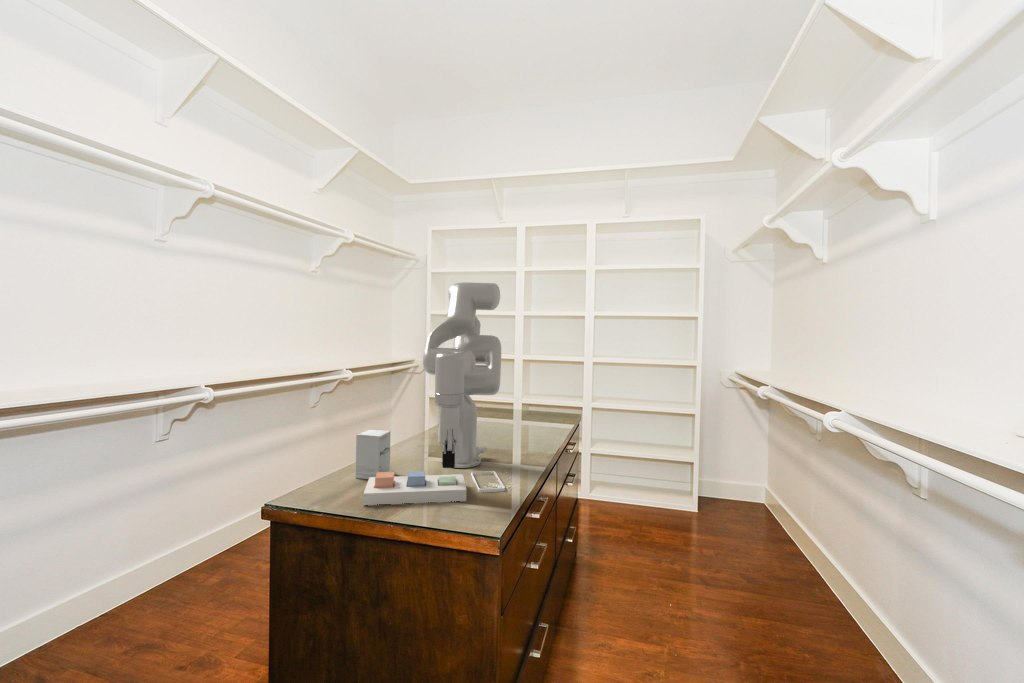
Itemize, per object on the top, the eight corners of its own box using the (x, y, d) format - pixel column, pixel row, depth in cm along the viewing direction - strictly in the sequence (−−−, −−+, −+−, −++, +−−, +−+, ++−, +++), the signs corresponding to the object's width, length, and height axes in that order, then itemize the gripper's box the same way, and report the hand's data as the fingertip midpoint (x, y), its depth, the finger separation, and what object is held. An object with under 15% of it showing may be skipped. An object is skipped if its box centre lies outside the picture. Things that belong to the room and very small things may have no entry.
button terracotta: (394, 483, 123) (394, 471, 122) (392, 489, 118) (393, 477, 118) (376, 484, 122) (376, 472, 122) (375, 490, 117) (375, 477, 117)
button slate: (425, 482, 124) (425, 470, 124) (425, 488, 120) (425, 476, 120) (408, 483, 123) (408, 471, 123) (407, 489, 119) (407, 476, 119)
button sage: (455, 487, 126) (455, 476, 125) (456, 493, 121) (456, 481, 121) (438, 488, 125) (438, 476, 125) (439, 494, 120) (439, 482, 120)
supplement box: (378, 480, 131) (379, 436, 131) (354, 478, 133) (355, 434, 132) (390, 472, 139) (391, 430, 138) (367, 470, 140) (368, 428, 140)
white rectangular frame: (505, 492, 126) (494, 475, 140) (505, 487, 126) (494, 470, 140) (478, 494, 124) (470, 476, 139) (478, 489, 124) (470, 471, 139)
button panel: (462, 484, 130) (462, 474, 130) (466, 501, 118) (466, 489, 118) (369, 488, 125) (369, 477, 125) (363, 505, 113) (363, 493, 113)
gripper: (434, 393, 129) (433, 457, 131) (435, 405, 114) (434, 478, 116) (461, 393, 130) (460, 456, 132) (466, 405, 116) (464, 476, 117)
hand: (448, 466), depth 124 cm, fingers closed
